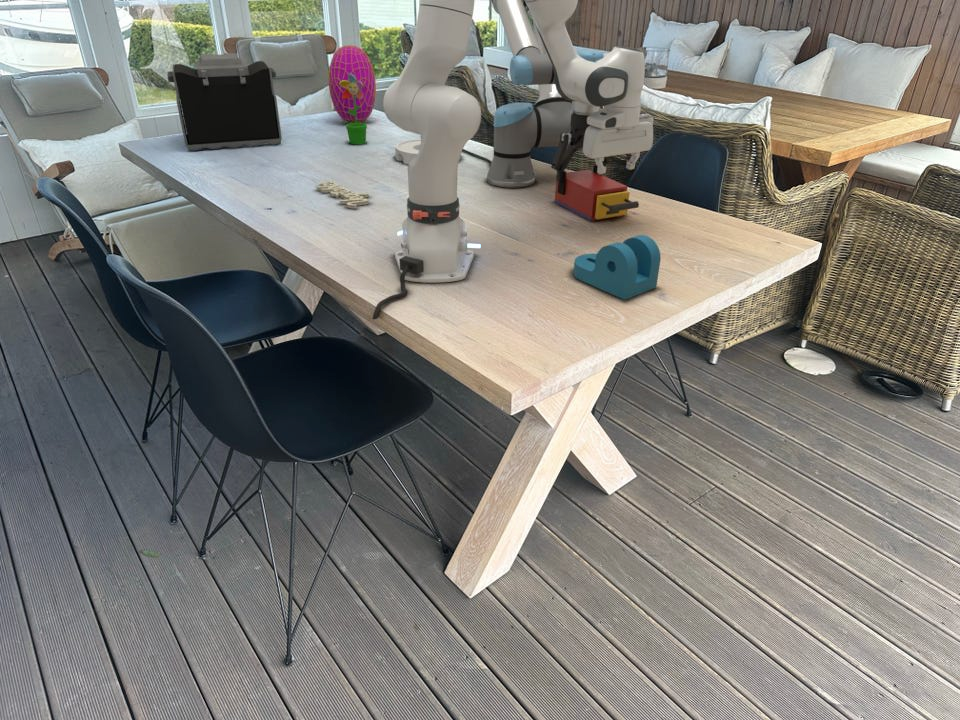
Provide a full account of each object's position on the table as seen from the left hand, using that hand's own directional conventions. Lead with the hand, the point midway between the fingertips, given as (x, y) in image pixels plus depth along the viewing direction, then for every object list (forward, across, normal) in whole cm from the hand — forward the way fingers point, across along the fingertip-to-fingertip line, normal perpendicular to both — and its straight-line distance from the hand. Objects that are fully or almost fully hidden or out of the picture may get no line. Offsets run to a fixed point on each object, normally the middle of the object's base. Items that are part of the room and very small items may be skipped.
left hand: (615, 171), depth 180 cm
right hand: (+10, -2, -18) cm, 21 cm away
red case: (+14, -2, -12) cm, 19 cm away
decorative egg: (+14, +20, -151) cm, 153 cm away
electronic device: (+14, +73, -138) cm, 156 cm away
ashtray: (+14, +16, -84) cm, 87 cm away
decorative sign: (+14, +57, -55) cm, 80 cm away
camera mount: (+14, +25, +31) cm, 42 cm away
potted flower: (+14, +31, -116) cm, 121 cm away
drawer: (+13, -1, -7) cm, 15 cm away
